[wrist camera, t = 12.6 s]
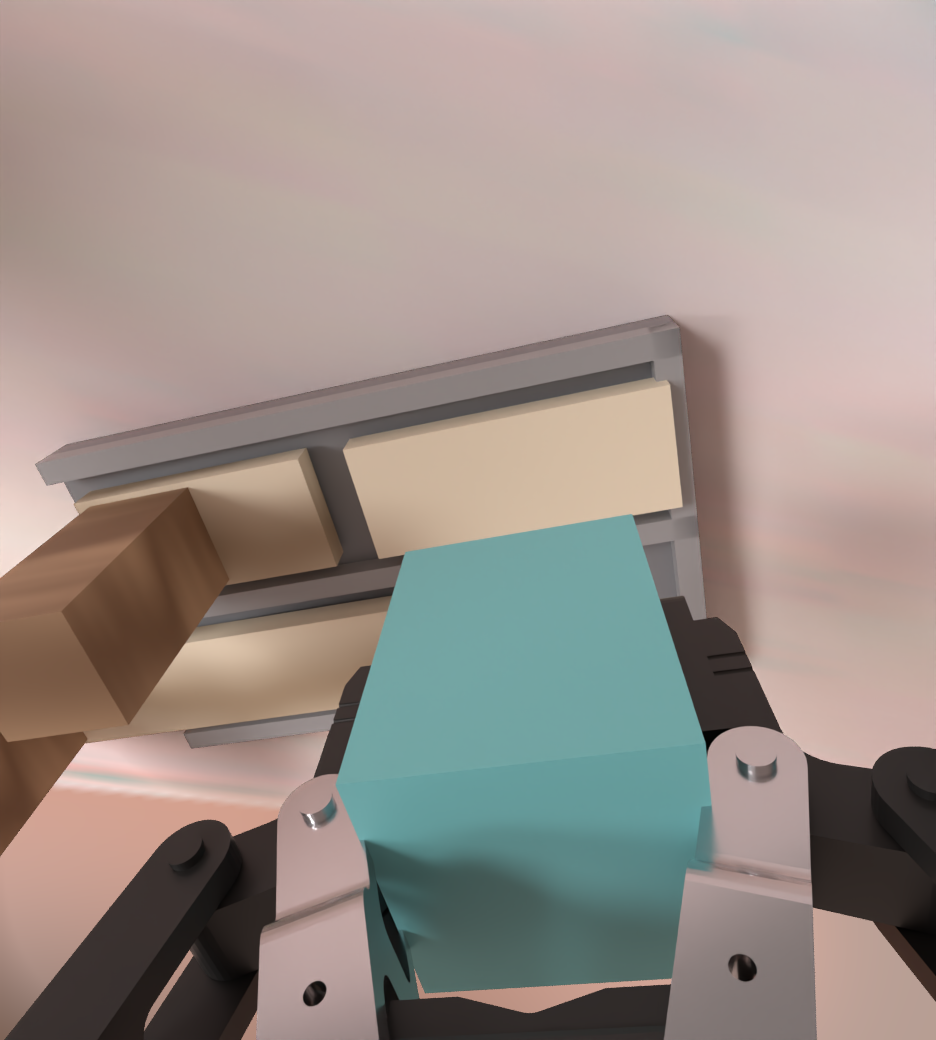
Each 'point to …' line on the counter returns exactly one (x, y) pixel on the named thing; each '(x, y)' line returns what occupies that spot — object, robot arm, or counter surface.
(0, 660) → the short strip
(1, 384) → the counter surface
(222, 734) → the lane board
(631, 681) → the teal cube
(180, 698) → the cube strip
